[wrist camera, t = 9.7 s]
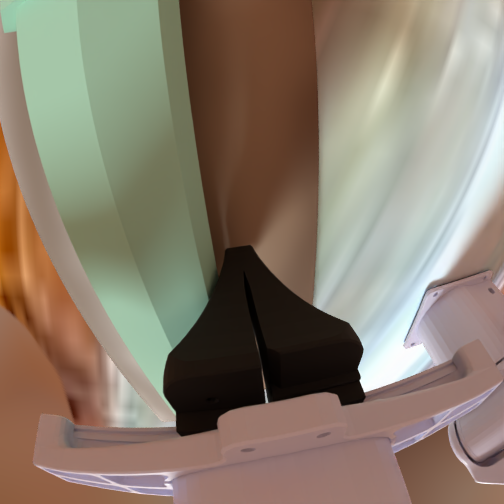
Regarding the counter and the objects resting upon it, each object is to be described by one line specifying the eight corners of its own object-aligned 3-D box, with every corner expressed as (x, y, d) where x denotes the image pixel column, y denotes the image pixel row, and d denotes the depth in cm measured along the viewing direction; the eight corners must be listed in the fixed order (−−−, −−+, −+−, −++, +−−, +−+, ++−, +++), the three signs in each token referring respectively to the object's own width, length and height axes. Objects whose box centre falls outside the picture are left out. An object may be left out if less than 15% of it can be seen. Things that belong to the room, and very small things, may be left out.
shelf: (290, -42, 8) (321, -73, 5) (298, 362, 24) (310, 401, 21) (35, 12, 7) (-12, 6, 4) (162, 381, 24) (162, 421, 20)
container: (231, 464, 16) (62, -84, 1) (161, 428, 18) (-27, 29, 3) (267, 398, 20) (231, -45, 5) (200, 371, 23) (105, 3, 8)
